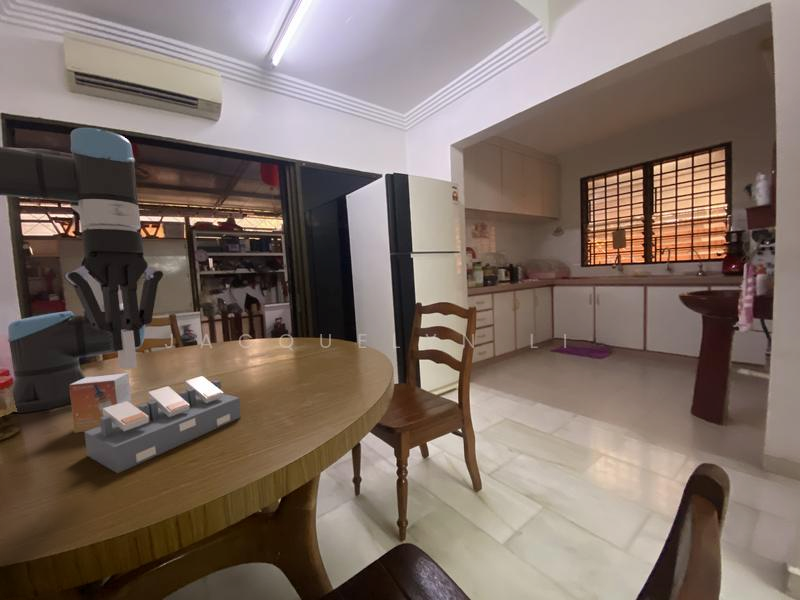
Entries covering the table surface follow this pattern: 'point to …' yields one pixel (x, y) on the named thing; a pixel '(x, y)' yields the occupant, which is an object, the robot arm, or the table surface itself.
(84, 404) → the small box
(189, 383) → the rocker
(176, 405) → the rocker
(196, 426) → the console
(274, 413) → the table surface
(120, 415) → the rocker
